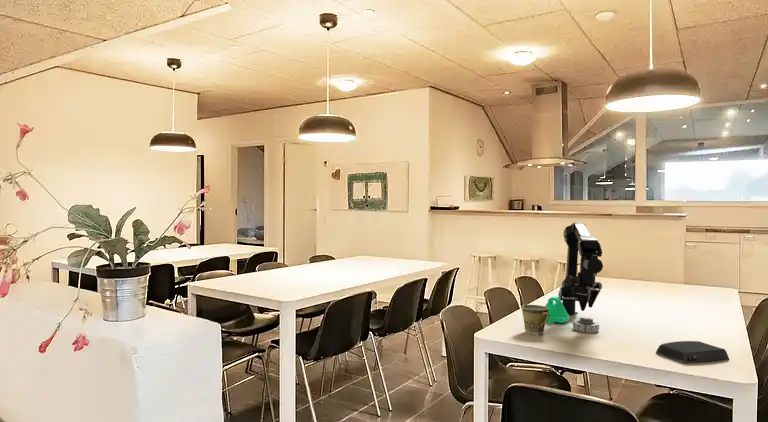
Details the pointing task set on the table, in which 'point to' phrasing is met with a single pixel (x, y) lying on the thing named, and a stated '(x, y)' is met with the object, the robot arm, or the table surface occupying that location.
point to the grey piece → (586, 327)
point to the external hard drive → (692, 352)
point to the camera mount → (556, 311)
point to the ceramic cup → (535, 318)
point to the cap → (586, 321)
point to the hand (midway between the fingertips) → (586, 309)
